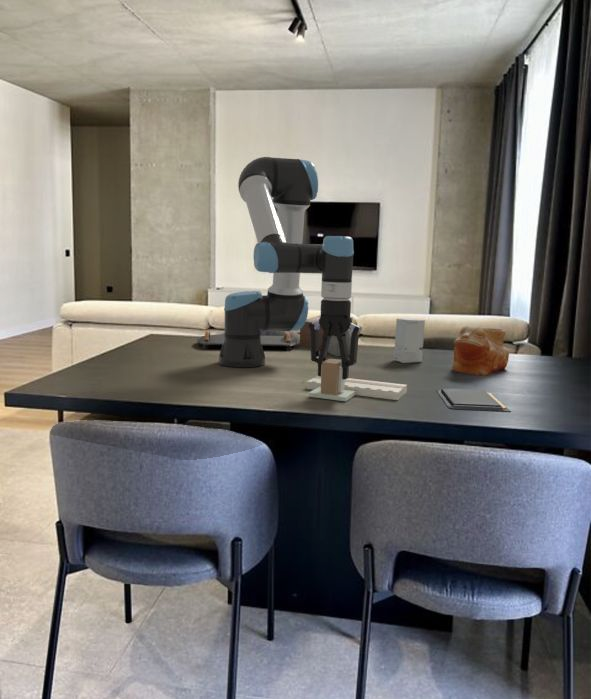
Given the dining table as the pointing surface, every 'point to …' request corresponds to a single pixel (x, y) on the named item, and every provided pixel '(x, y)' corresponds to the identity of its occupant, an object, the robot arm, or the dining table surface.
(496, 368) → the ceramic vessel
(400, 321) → the skincare box
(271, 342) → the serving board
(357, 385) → the pad
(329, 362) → the stub
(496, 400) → the wallet
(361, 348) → the dining table surface
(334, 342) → the digital clock
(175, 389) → the dining table surface
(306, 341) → the tissue box cover
